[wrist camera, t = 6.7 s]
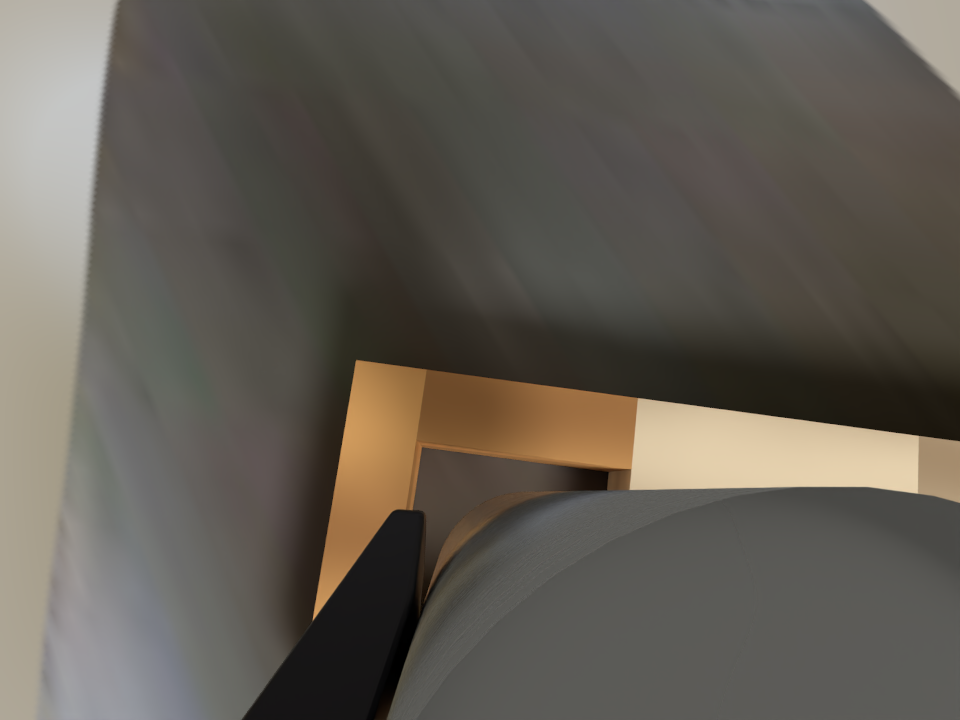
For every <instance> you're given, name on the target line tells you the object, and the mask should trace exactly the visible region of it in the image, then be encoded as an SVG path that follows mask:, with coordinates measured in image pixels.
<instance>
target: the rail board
mask: <svg viewBox="0 0 960 720" xmlns="http://www.w3.org/2000/svg"><path fill="white" fill-rule="evenodd" d="M422 447H426V448H433V449H441V450H448V451H455V452H463V453H470V454H478V455H485V456H493V457H500V458H508V459H515V460H522V461H530V462H537V463H545V464H552V465H560V466H567V467H575V468H582V469H589V470H597V471H604V472H609V475H608V486H607V490H658V489H712V488H766V487H872V488H880V489H887V490H894V491H902V492H909V493H917V494H924V495H932V496H936V497H940V498H944V499H947V500H951V501H955V502H958V503H960V441H952V440H945V439H938V438H930V437H923V436H915V435H908V434H900V433H893V432H886V431H878V430H871V429H863V428H856V427H849V426H841V425H834V424H826V423H819V422H811V421H804V420H797V419H789V418H782V417H774V416H767V415H760V414H752V413H745V412H737V411H730V410H722V409H715V408H708V407H700V406H693V405H685V404H678V403H671V402H663V401H656V400H648V399H641V398H633V397H626V396H619V395H611V394H604V393H596V392H589V391H582V390H574V389H567V388H559V387H552V386H544V385H537V384H530V383H522V382H515V381H507V380H500V379H493V378H485V377H478V376H470V375H463V374H455V373H448V372H441V371H433V370H426V369H418V368H411V367H404V366H396V365H389V364H381V363H374V362H366V361H359V360H356V364H355V370H354V376H353V382H352V388H351V394H350V400H349V406H348V412H347V418H346V424H345V430H344V436H343V442H342V448H341V454H340V460H339V466H338V472H337V478H336V484H335V490H334V496H333V502H332V507H331V513H330V519H329V525H328V531H327V537H326V543H325V549H324V555H323V561H322V567H321V573H320V579H319V585H318V591H317V597H316V603H315V609H314V615H313V620H314V618H315V617H316V616H317V614H318V613H319V612H320V610H321V609H322V607H323V606H324V605H325V603H326V602H327V600H328V599H329V598H330V596H331V595H332V594H333V592H334V591H335V589H336V588H337V587H338V585H339V584H340V582H341V581H342V580H343V578H344V577H345V575H346V574H347V573H348V571H349V570H350V569H351V567H352V566H353V564H354V563H355V562H356V560H357V559H358V557H359V556H360V555H361V553H362V552H363V551H364V549H365V548H366V546H367V545H368V544H369V542H370V541H371V539H372V538H373V537H374V535H375V534H376V533H377V531H378V530H379V528H380V527H381V526H382V524H383V523H384V521H385V520H386V519H387V517H388V516H389V515H390V513H391V512H392V511H394V510H396V509H404V510H413V505H414V498H415V491H416V484H417V477H418V470H419V464H420V457H421V450H422Z"/></svg>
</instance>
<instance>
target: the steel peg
mask: <svg viewBox="0 0 960 720" xmlns="http://www.w3.org/2000/svg"><path fill="white" fill-rule="evenodd" d="M387 720H960V503H958V502H955V501H951V500H947V499H944V498H940V497H936V496H932V495H924V494H917V493H909V492H902V491H894V490H887V489H880V488H872V487H766V488H712V489H658V490H604V491H550V492H516V493H509V494H505V495H501V496H497V497H495V498H492V499H490V500H488V501H485V502H484V503H482V504H480V505H479V506H477V507H475V508H474V509H473V510H471V511H470V512H469V513H468V514H466V515H465V516H464V517H463V518H462V519H461V520H460V521H459V522H458V523H457V525H456V526H455V527H454V529H453V530H452V531H451V533H450V534H449V536H448V538H447V539H446V541H445V543H444V545H443V547H442V550H441V552H440V555H439V557H438V561H437V564H436V567H435V570H434V573H433V576H432V579H431V583H430V586H429V589H428V592H427V595H426V598H425V601H424V604H423V608H422V611H421V614H420V617H419V620H418V623H417V626H416V630H415V633H414V636H413V639H412V642H411V645H410V648H409V652H408V655H407V658H406V661H405V664H404V667H403V670H402V673H401V677H400V680H399V683H398V686H397V689H396V692H395V695H394V699H393V702H392V705H391V708H390V711H389V714H388V717H387Z"/></svg>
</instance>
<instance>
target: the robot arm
mask: <svg viewBox="0 0 960 720" xmlns="http://www.w3.org/2000/svg"><path fill="white" fill-rule="evenodd" d="M425 540H426V515H425V513H424V512H423V511H419V510H404V509H396V510H394V511H392V512H391V513H390V515H389V516H388V517H387V519H386V520H385V521H384V523H383V524H382V526H381V527H380V528H379V530H378V531H377V533H376V534H375V535H374V537H373V538H372V539H371V541H370V542H369V544H368V545H367V546H366V548H365V549H364V551H363V552H362V553H361V555H360V556H359V557H358V559H357V560H356V562H355V563H354V564H353V566H352V567H351V569H350V570H349V571H348V573H347V574H346V575H345V577H344V578H343V580H342V581H341V582H340V584H339V585H338V587H337V588H336V589H335V591H334V592H333V594H332V595H331V596H330V598H329V599H328V600H327V602H326V603H325V605H324V606H323V607H322V609H321V610H320V612H319V613H318V614H317V616H316V617H315V618H314V620H313V621H312V623H311V624H310V625H309V627H308V628H307V630H306V631H305V632H304V634H303V635H302V636H301V638H300V639H299V641H298V642H297V643H296V645H295V646H294V648H293V649H292V650H291V652H290V653H289V654H288V656H287V657H286V659H285V660H284V661H283V663H282V664H281V666H280V667H279V668H278V670H277V671H276V673H275V674H274V675H273V677H272V678H271V679H270V681H269V682H268V684H267V685H266V686H265V688H264V689H263V691H262V692H261V693H260V695H259V696H258V697H257V699H256V700H255V702H254V703H253V704H252V706H251V707H250V709H249V710H248V711H247V713H246V714H245V715H244V717H243V718H242V720H387V717H388V714H389V711H390V708H391V705H392V702H393V699H394V695H395V692H396V689H397V686H398V683H399V680H400V677H401V673H402V670H403V667H404V664H405V661H406V658H407V655H408V652H409V648H410V645H411V642H412V639H413V636H414V633H415V630H416V626H417V623H418V620H419V617H420V608H421V597H422V586H423V576H424V563H425Z"/></svg>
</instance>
